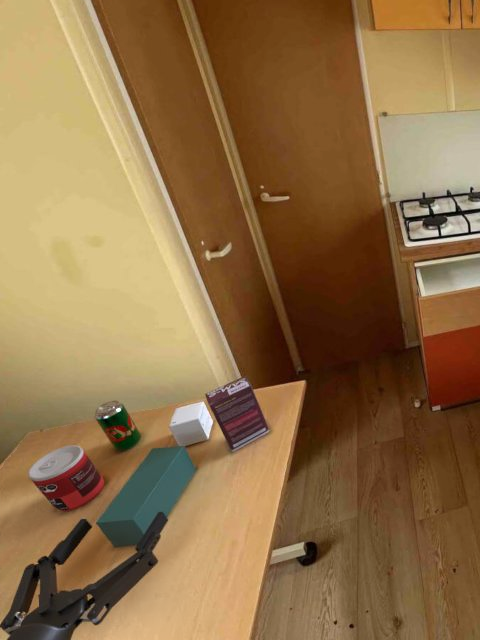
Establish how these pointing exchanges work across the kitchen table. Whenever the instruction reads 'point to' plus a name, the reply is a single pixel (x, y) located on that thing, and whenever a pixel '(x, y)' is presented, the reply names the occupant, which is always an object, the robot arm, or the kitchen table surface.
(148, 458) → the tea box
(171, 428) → the product box
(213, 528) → the kitchen table surface
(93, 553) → the kitchen table surface
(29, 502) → the kitchen table surface
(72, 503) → the canned food
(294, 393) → the kitchen table surface
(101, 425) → the soda can
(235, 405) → the supplement box
